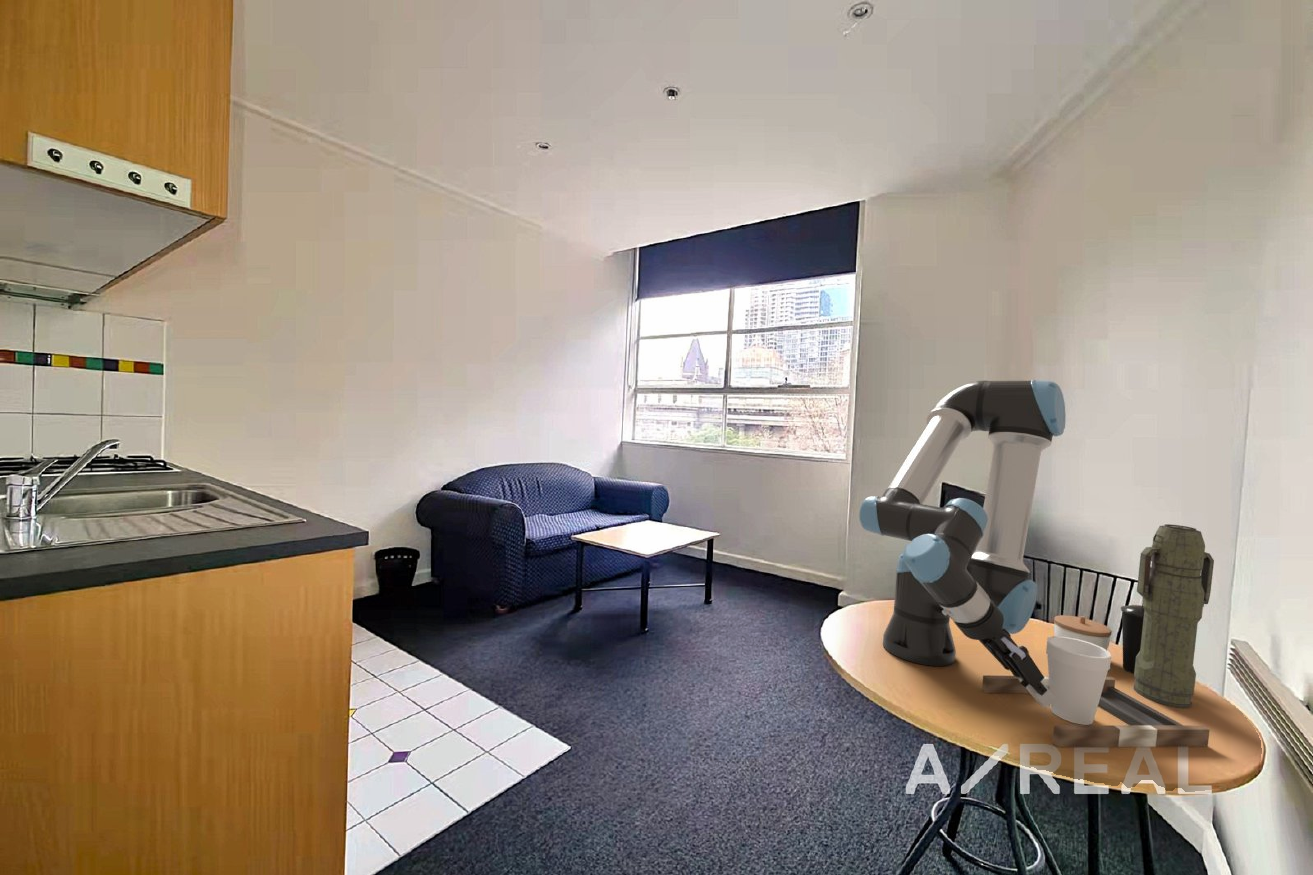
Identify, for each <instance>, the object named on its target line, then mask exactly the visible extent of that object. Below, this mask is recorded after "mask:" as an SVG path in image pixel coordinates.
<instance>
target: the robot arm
mask: <svg viewBox="0 0 1313 875" xmlns="http://www.w3.org/2000/svg"><path fill="white" fill-rule="evenodd" d="M1065 427H1066V404H1065V398H1064V394H1063V392H1062V389H1061V386H1060V385H1059V384H1057V383H1056V382H1054V381H1050V380H1035V379H1031V380H976V381H972V382H971V381H970V382H968V383H966V384H963V385H961V386H959V387H957V388H955V389H953V390H952V391H951V392H949V393H948V394H946V395H945V396H943V397H942V398H941V399H940V400H939V401H938V402H937V403H935V405H934V406H933V407H932V409H931V410H930V411H929V413H928V415H927V417H926V427H925V428H924V430H923V432H922V433H921V435H920V436H919V438H918V439H917V441H916V443H914V446H913V447H912V449H911V450H910V452H909V454H908V455H907V456H906V458H905V460H904V461H903V463H902V464H901V467H900V468H899V470H898V471H897V472H896V474H895V475H894V476H893V479H892V480H891V482H890V483H889V485H888V487H887V488H886V489H885V491H884V492H883V494H882V496H878V495H876V496H874V495H871V496H868V497H866V498H864V499H863V501H862V503H861V504H860V507H859V516H858V517H859V521H860V525H861V527H862V528H863V530H866V532H869V533H874V534H877V535H880V536H883V537H884V536H886V537H889V538H890V537H891V538H895V539H900V540H906V541H910V543H908V544H907V545H906V546H905V548H904V549H903V552H902V553H901V554H900V555H899V556H898V559H897V560H898V562H897V568H896V570H895V573H896V575H895V587H894V588H895V589H894V600H893V602H894V603H893V612H892V613H893V614H892V615H891V618H890V620H889V622H888V624H887V626H886V629H885V630H884V633H883V636H882V638H883V639H882V645H883V647H884V649H885V651H886V650H887V651H888V652H889V653H890V654H892V655H894V656H896V657H897V658H901V659H903V660H905V661H908V662H911V663H913V664H919V665H922V666H923V665H925V666H931V667H932V666H933V667H946V666H951V665H952V664H954V663H955V661H956V655H957V652H956V650H957V649H956V646H955V641H954V637H953V634H952V630H951V627H950V626H951V625H950V620H952V621H953V623H954V624H955V625H956V627H957V628H958V629H959V630H960V631H961V633H962V634H963V635H964V636H966V637H965V638H968V639H971V640H972V641H973V640H974V641H979V642H980V644H982V645H983V647H984V648H986V650H987V651H988V652H989V653H990V654H991V655H992V656H993V657H994V658H995V659H996V661H997V662H998V663H999V664H1000V665H1001V666H1002V667H1003V668H1004V669H1005V670H1007V671H1010V672H1011V675H1012V676H1016V677H1019V681H1020V682H1021V683H1020V684H1021V685H1023V686H1024V687H1025V688H1026V689H1027V690H1028V691H1029V692H1030V693H1029V694H1030V695H1031V696H1032V697H1033V699H1034V700H1035V701H1036V702H1037V703H1038V704H1039V705H1040V707H1041V706H1042V707H1043V708H1045V709H1047V708H1048V707H1049V706H1051V705H1050V704H1051V703H1052V702H1053V701H1054V700H1055V699H1057V698H1056V697H1055V696H1054V695H1053V694H1052V692H1051V691H1050V690H1049V689H1048V688H1047V686H1046V685H1045V684H1044V683H1043V682H1042V680H1043V679H1044V676H1045V675H1043V673H1042V672H1041V670H1040V669H1039V667H1038V666H1037V664H1036V662H1034V660H1033V658H1032V657H1031V655H1030V652H1029V650H1028V648H1027V647H1026V646H1024V645H1021V646H1020V645H1017V643H1016V642H1015V641H1014V639H1013V638H1012V636H1011V635H1015V634H1018V633H1020V632H1022V631H1023V630H1024V628H1026V626H1027V625H1028V622H1029V621H1030V619H1031V617H1032V614H1033V612H1034V609H1035V606H1036V601H1037V597H1038V595H1037V594H1038V585H1037V583H1036V582H1035V581H1033V580H1032V579H1029V578H1030V574H1031V573H1030V572H1031V570H1029V569H1028V567H1027V566H1026V565H1025V563H1024V554H1025V550H1026V549H1025V548H1026V542H1027V537H1028V531H1029V526H1030V519H1031V513H1032V507H1033V502H1034V494H1035V490H1036V484H1037V480H1038V479H1037V478H1038V471H1039V465H1040V460H1041V454H1042V452H1043V451H1044V450H1045V449H1047V448H1048V447H1050V446H1051V445H1052V441H1053V437H1059V436H1062V435H1063V434H1064V433H1065V429H1066V428H1065ZM978 431H982V432H988V435H987V438H988V439H989V440H990V441H991V443H992V444H993V446H994V447H993V452H992V456H991V457H992V458H991V463H990V470H989V474H988V478H987V479H988V480H987V485H986V491H985V496H984V503H983V506H981V504H979V503H977V502H975V501H973V500H971V499H969V498H964V497H958V498H953V499H950V500H949V501H948V502H947V503H946V504H945V505H944V506H943V507H941V506H940V507H939V506H933V505H928V504H924V503H925V502H926V500H927V498H928V496H929V494H930V493H931V491H932V489H933V488H934V486H935V484H936V482H938V479H939V477H940V476H941V474H942V473H943V471H944V469H945V467H946V466H947V464H948V463H949V461H950V459H951V457H952V455H953V454H954V452H955V450H956V448H957V447H958V445H959V443H960V442H961V441H963V440H966V439H967V438H968V437H969V436H970V434H971V433H972V432H978Z"/></svg>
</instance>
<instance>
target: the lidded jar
mask: <svg viewBox="0 0 1313 875" xmlns="http://www.w3.org/2000/svg"><path fill="white" fill-rule="evenodd" d="M1053 622H1054V623H1053V624H1054V625H1053V629H1054V630H1053V633H1054V635H1053V636H1061V637H1069V638H1074V639H1079V640H1082V641H1086V642H1089V643H1092V644H1095V645H1097V646H1099V647H1102V648H1104V649H1105V650H1107V651H1108V649H1109V647H1110V642H1111V636H1112V632H1113V631H1112V629H1111V628H1110V627H1109V626H1107V625H1105V624H1103V623H1100V622H1098V621H1094V620H1092V619H1088V618H1086V616H1083V615H1080V616H1074V615H1065V614H1064V615H1063V614H1061V615H1056V616H1054V617H1053Z"/></svg>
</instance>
